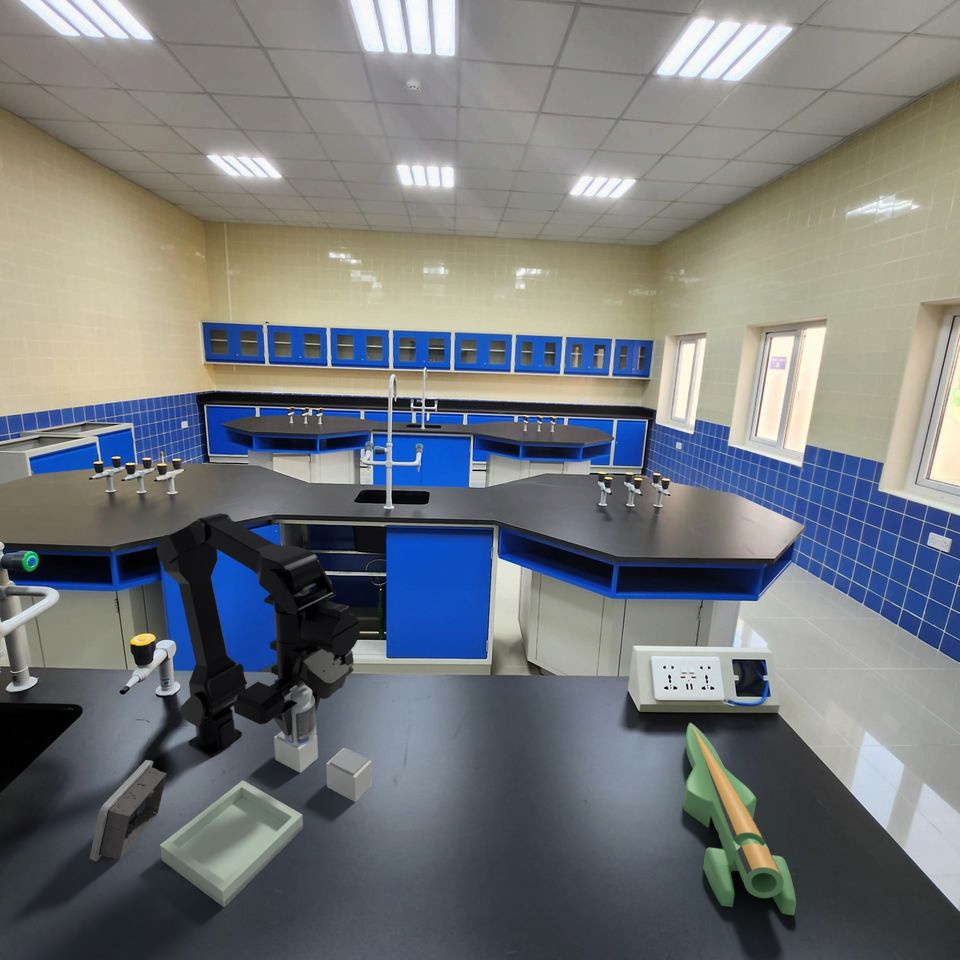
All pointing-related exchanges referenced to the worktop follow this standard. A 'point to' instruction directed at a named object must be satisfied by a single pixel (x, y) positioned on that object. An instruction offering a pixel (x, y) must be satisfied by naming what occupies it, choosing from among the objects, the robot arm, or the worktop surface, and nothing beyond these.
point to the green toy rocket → (732, 830)
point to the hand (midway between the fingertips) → (299, 724)
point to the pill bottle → (302, 716)
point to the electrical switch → (128, 812)
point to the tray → (231, 841)
